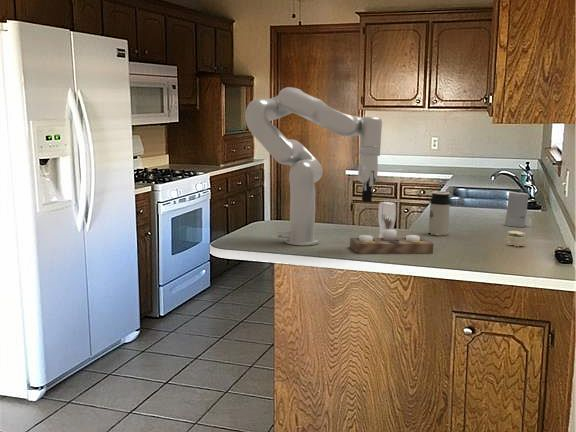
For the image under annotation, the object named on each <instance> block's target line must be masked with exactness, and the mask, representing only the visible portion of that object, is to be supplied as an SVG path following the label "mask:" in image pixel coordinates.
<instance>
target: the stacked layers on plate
mask: <svg viewBox="0 0 576 432" xmlns="http://www.w3.org/2000/svg"><path fill="white" fill-rule="evenodd" d="M508 233H509V234H506V236H507V240H506V242H507V244H512V245H515V246H524V247H525V244H526V242H525V240H526V239H527V238H526V236H525V234H527V233H525V232H522V231H520V230H519V231H518V230H509V231H508ZM525 238H526V239H525ZM515 246H514V247H515Z"/></svg>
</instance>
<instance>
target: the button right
mask: <svg viewBox="0 0 576 432" xmlns="http://www.w3.org/2000/svg"><path fill="white" fill-rule="evenodd" d="M405 238H406V240H407V241H420V238H421V237H420V235H416V234H408V235H405Z"/></svg>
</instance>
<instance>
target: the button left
mask: <svg viewBox="0 0 576 432" xmlns="http://www.w3.org/2000/svg"><path fill="white" fill-rule="evenodd" d="M358 238H359V241H373V238H374V236H373V235H370V234H369V235H368V234H360V235H359V236H358Z"/></svg>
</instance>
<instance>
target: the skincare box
mask: <svg viewBox="0 0 576 432" xmlns="http://www.w3.org/2000/svg"><path fill="white" fill-rule="evenodd" d="M529 195H530V194H529V193H524V192H515V191H510V192H508V200H507V208H506V209H507V210H506V217H505V224H504V225H505V226H506V227H515V228H524V227H525V226H526V220H527V219H526V217H527V212H528V210H527V209H528V203H529Z"/></svg>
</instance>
